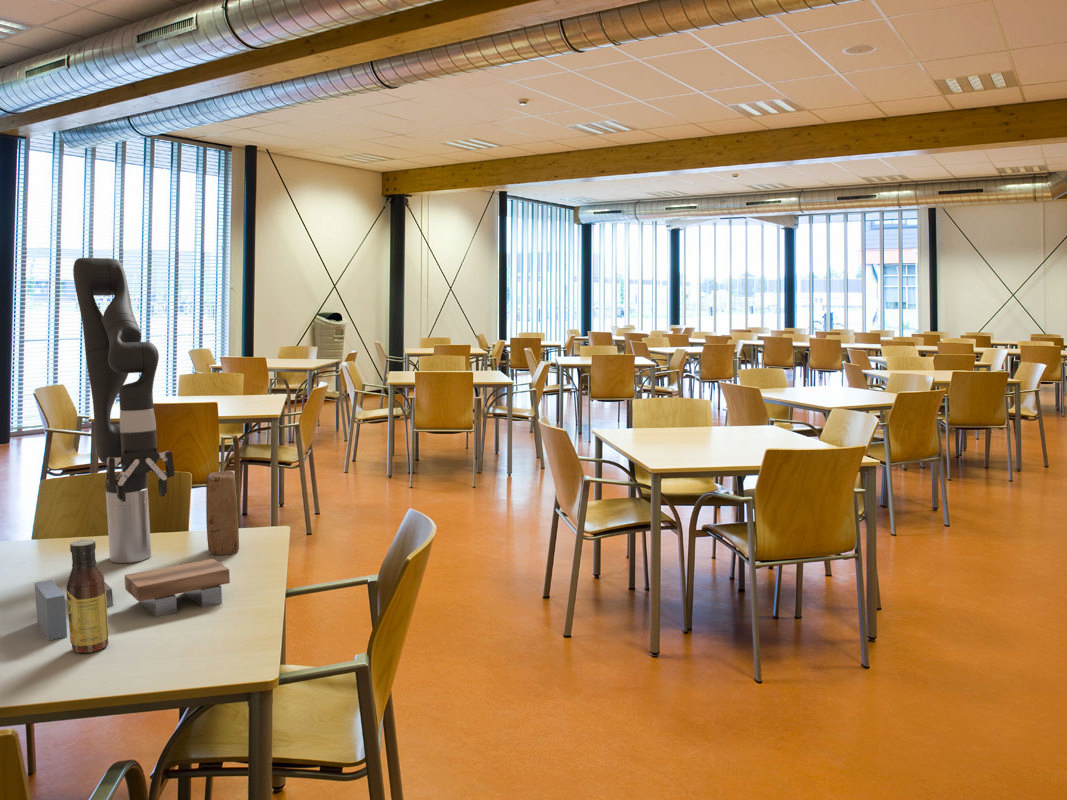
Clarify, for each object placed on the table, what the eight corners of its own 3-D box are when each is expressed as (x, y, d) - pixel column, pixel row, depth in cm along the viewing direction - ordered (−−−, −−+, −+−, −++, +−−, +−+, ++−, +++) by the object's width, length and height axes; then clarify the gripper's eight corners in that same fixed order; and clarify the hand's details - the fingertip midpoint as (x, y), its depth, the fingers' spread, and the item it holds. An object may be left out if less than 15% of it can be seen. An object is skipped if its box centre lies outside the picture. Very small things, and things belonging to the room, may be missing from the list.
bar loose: (78, 596, 188) (77, 579, 188) (99, 592, 191) (98, 575, 190) (92, 611, 179) (90, 593, 179) (113, 606, 182) (112, 589, 181)
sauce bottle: (79, 642, 162) (73, 536, 160) (115, 641, 162) (108, 535, 160) (64, 656, 155) (56, 546, 153) (100, 655, 156) (94, 545, 154)
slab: (125, 589, 181) (124, 575, 181) (213, 571, 192) (212, 558, 192) (138, 601, 173) (137, 587, 173) (229, 583, 184) (229, 569, 184)
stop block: (37, 622, 172) (34, 582, 171) (54, 618, 174) (51, 579, 173) (49, 640, 163) (46, 598, 162) (67, 636, 165) (64, 595, 164)
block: (239, 555, 218) (236, 475, 216) (207, 558, 215) (203, 477, 213) (239, 544, 228) (235, 468, 226) (208, 546, 225) (204, 470, 223)
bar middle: (139, 603, 184) (138, 585, 183) (159, 599, 186) (159, 581, 186) (156, 619, 175) (155, 599, 174) (177, 615, 177) (176, 595, 177)
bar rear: (184, 594, 190) (183, 576, 189) (203, 590, 192) (202, 572, 192) (202, 609, 180) (201, 590, 180) (222, 605, 183) (221, 586, 182)
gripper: (165, 425, 209) (169, 492, 211) (100, 430, 200) (105, 500, 202) (175, 427, 203) (179, 496, 205) (108, 433, 195) (113, 505, 196)
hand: (142, 498), depth 203 cm, fingers open, 8 cm apart
